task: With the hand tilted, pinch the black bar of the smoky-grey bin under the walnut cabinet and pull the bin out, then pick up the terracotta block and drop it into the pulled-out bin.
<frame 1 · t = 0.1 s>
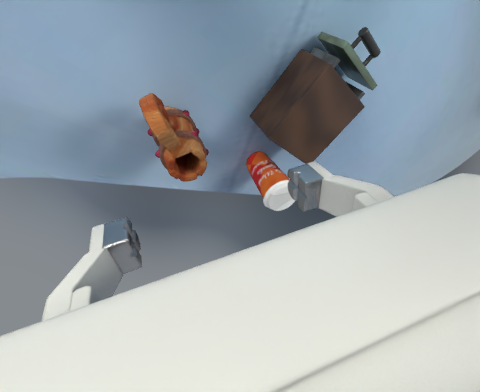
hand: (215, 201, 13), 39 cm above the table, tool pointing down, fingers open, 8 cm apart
bin: (330, 82, 52), point 5 cm above the table, slide at 3.0 cm
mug: (164, 112, 49), on the table
cabinet: (293, 102, 57), on the table
paper cup: (256, 161, 65), on the table
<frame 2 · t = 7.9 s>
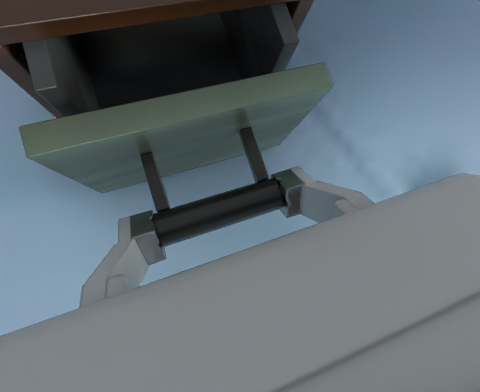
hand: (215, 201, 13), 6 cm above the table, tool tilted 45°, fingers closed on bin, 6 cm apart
bin: (170, 64, 15), point 5 cm above the table, slide at 3.0 cm, touching gripper
cabinet: (149, 21, 20), on the table
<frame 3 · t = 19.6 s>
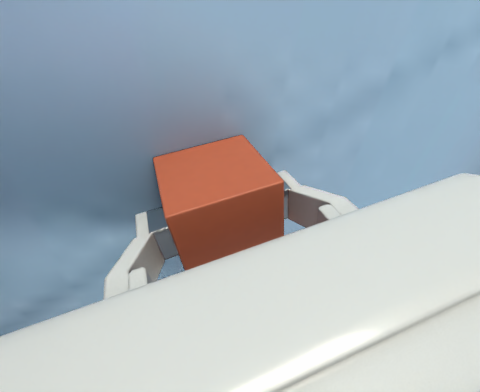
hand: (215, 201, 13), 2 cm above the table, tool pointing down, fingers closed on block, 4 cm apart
block: (207, 182, 15), on the table, touching gripper
when the fingers open (10 cm above the table, at t = 25.8 s): block drops 6 cm, resting on bin.
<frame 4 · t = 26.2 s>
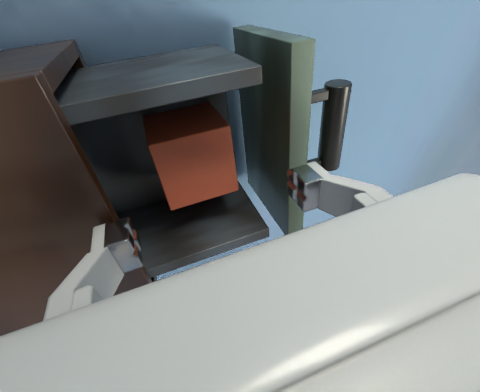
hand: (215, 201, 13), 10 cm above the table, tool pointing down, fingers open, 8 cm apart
bin: (207, 153, 17), point 5 cm above the table, slide at 9.4 cm, touching block
block: (184, 139, 19), point 2 cm above the table, touching bin
cabinet: (1, 171, 18), on the table
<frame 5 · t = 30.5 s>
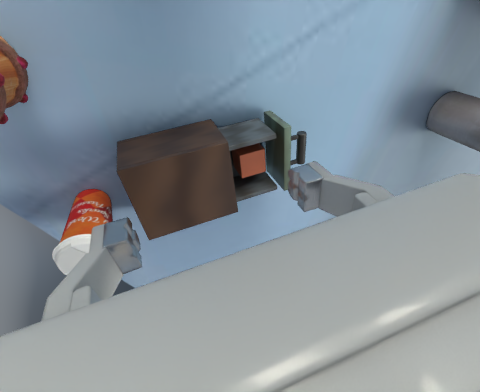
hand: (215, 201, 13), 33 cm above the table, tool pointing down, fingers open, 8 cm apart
bin: (254, 157, 47), point 5 cm above the table, slide at 9.4 cm, touching block
block: (243, 152, 49), point 2 cm above the table, touching bin
cabinet: (176, 164, 48), on the table
pillar candle: (441, 111, 65), on the table
paper cup: (93, 201, 47), on the table
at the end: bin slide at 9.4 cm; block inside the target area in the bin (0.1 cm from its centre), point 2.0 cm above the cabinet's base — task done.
